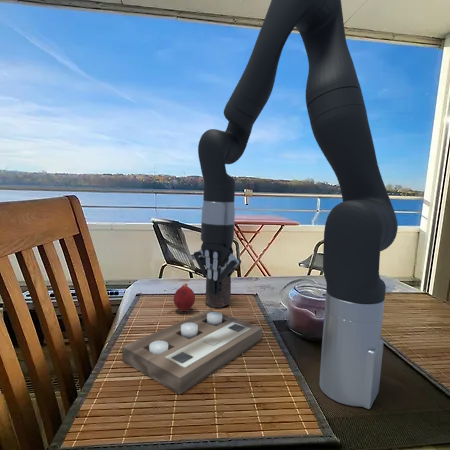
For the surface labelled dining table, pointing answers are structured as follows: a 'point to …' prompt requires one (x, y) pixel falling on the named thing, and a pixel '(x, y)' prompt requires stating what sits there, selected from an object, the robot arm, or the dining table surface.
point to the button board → (191, 350)
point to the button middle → (189, 330)
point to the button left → (158, 347)
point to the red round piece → (184, 298)
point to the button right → (214, 318)
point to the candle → (223, 297)
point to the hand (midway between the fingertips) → (214, 294)
